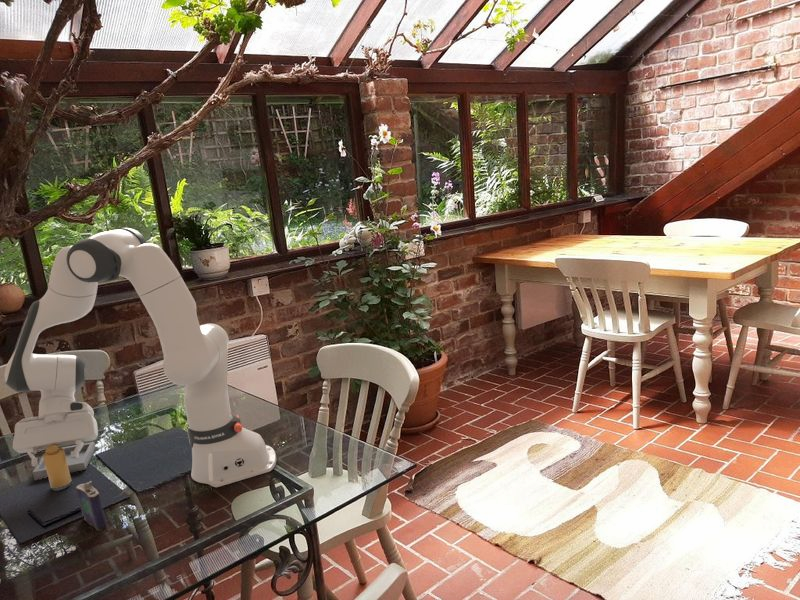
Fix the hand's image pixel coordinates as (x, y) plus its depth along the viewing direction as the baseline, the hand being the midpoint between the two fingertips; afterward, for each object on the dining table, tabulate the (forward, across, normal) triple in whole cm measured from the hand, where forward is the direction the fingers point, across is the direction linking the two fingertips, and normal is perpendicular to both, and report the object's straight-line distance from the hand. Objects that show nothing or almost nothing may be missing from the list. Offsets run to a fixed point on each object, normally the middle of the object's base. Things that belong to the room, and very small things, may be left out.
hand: (55, 461), depth 160 cm
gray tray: (-4, -2, +15) cm, 15 cm away
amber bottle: (+5, 0, +6) cm, 7 cm away
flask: (+21, +13, -10) cm, 26 cm away
